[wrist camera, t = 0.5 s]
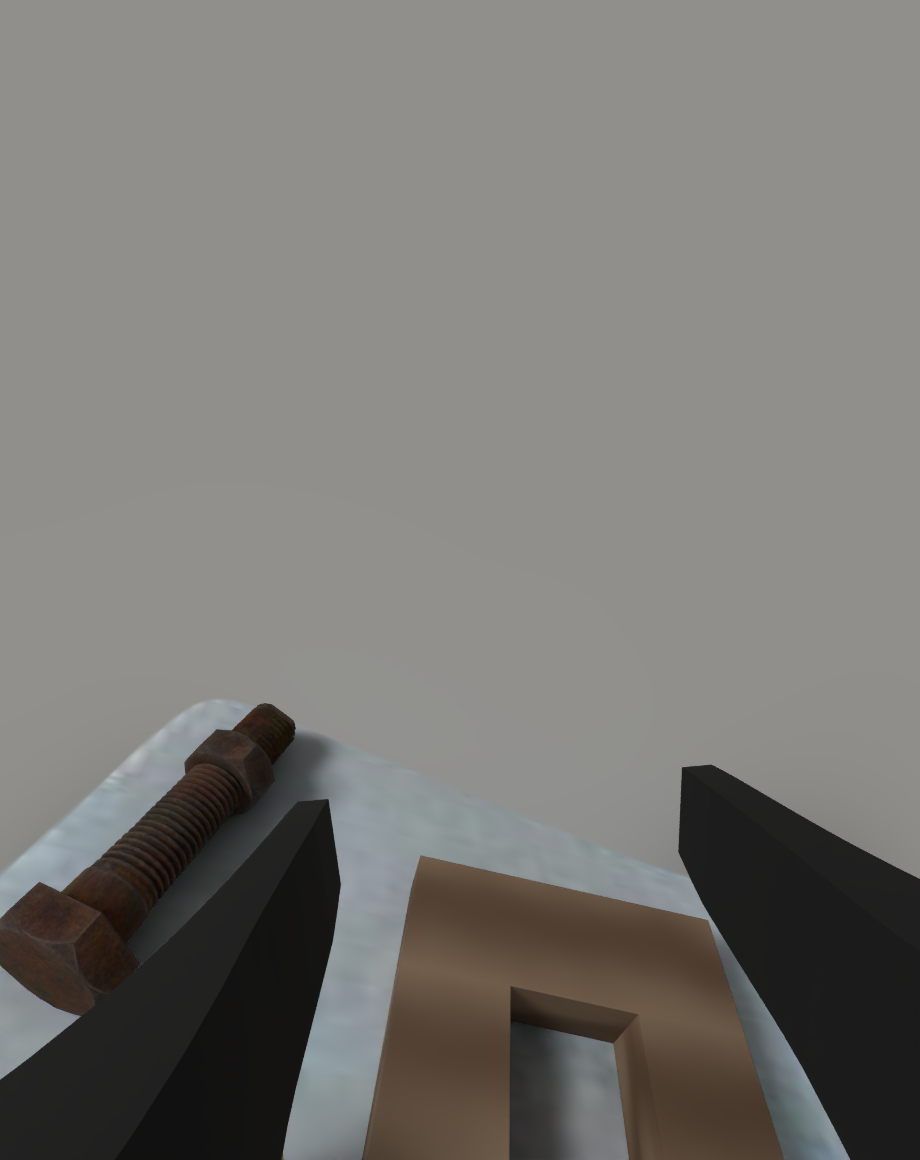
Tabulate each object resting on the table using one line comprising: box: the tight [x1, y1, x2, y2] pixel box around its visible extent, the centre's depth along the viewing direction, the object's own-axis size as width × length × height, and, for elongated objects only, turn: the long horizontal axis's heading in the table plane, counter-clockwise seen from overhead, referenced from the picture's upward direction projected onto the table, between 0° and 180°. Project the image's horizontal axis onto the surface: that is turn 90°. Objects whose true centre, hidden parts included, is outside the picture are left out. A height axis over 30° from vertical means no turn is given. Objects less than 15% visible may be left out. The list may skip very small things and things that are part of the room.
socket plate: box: [362, 856, 784, 1160], centre depth 19 cm, size 15×15×3 cm
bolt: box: [0, 703, 296, 1015], centre depth 25 cm, size 6×5×15 cm
